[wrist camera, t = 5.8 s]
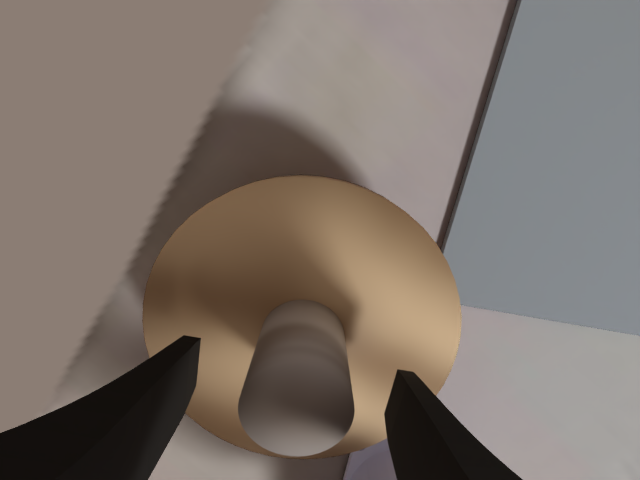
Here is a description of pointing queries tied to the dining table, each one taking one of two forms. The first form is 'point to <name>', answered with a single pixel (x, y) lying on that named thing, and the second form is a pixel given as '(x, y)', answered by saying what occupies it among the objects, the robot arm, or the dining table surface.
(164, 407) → the robot arm
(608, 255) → the mat
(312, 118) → the dining table surface
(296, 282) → the lid
